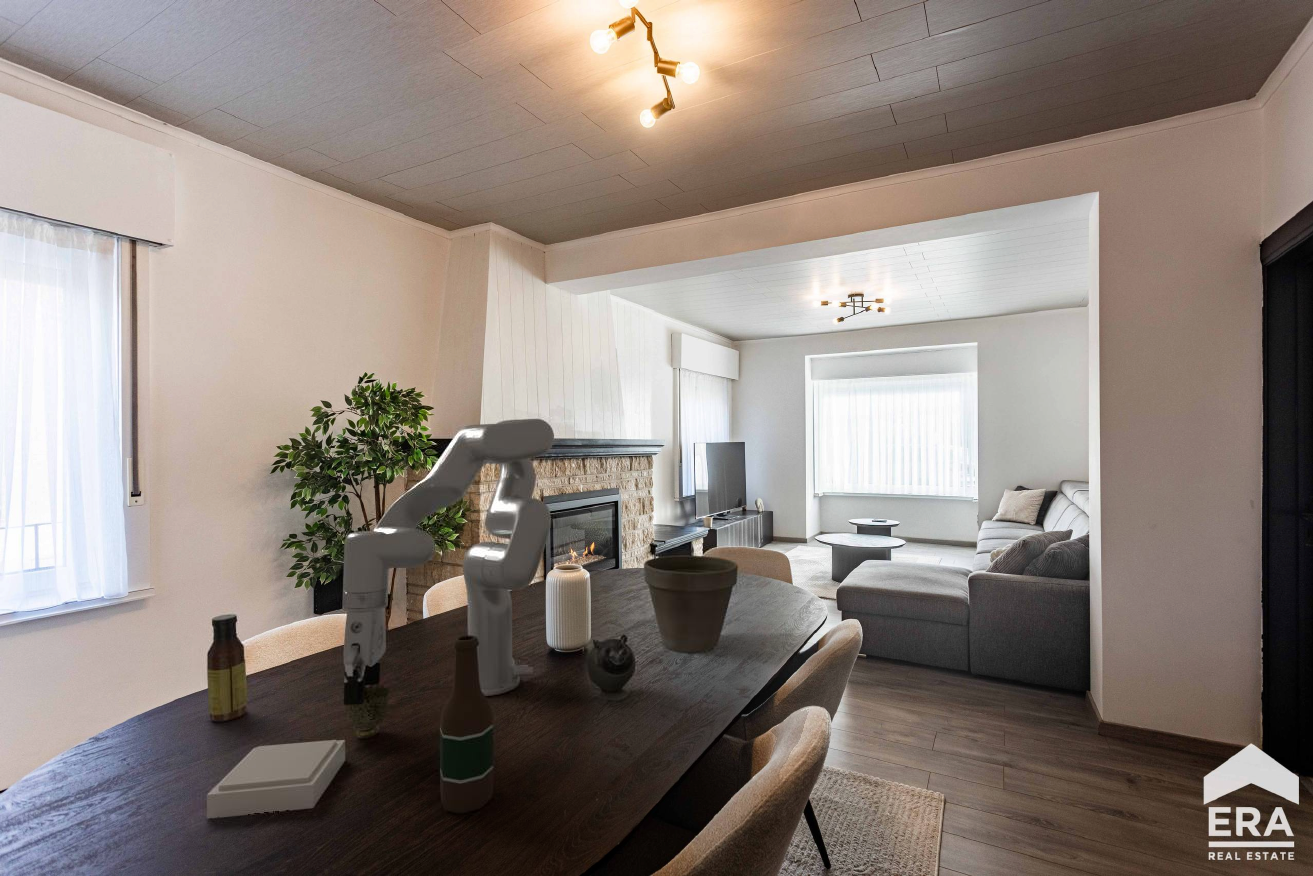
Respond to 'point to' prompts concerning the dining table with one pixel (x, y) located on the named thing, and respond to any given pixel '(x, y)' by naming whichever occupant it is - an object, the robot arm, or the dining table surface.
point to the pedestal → (277, 779)
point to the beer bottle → (466, 736)
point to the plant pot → (690, 599)
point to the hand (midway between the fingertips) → (362, 694)
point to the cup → (369, 711)
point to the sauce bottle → (226, 671)
